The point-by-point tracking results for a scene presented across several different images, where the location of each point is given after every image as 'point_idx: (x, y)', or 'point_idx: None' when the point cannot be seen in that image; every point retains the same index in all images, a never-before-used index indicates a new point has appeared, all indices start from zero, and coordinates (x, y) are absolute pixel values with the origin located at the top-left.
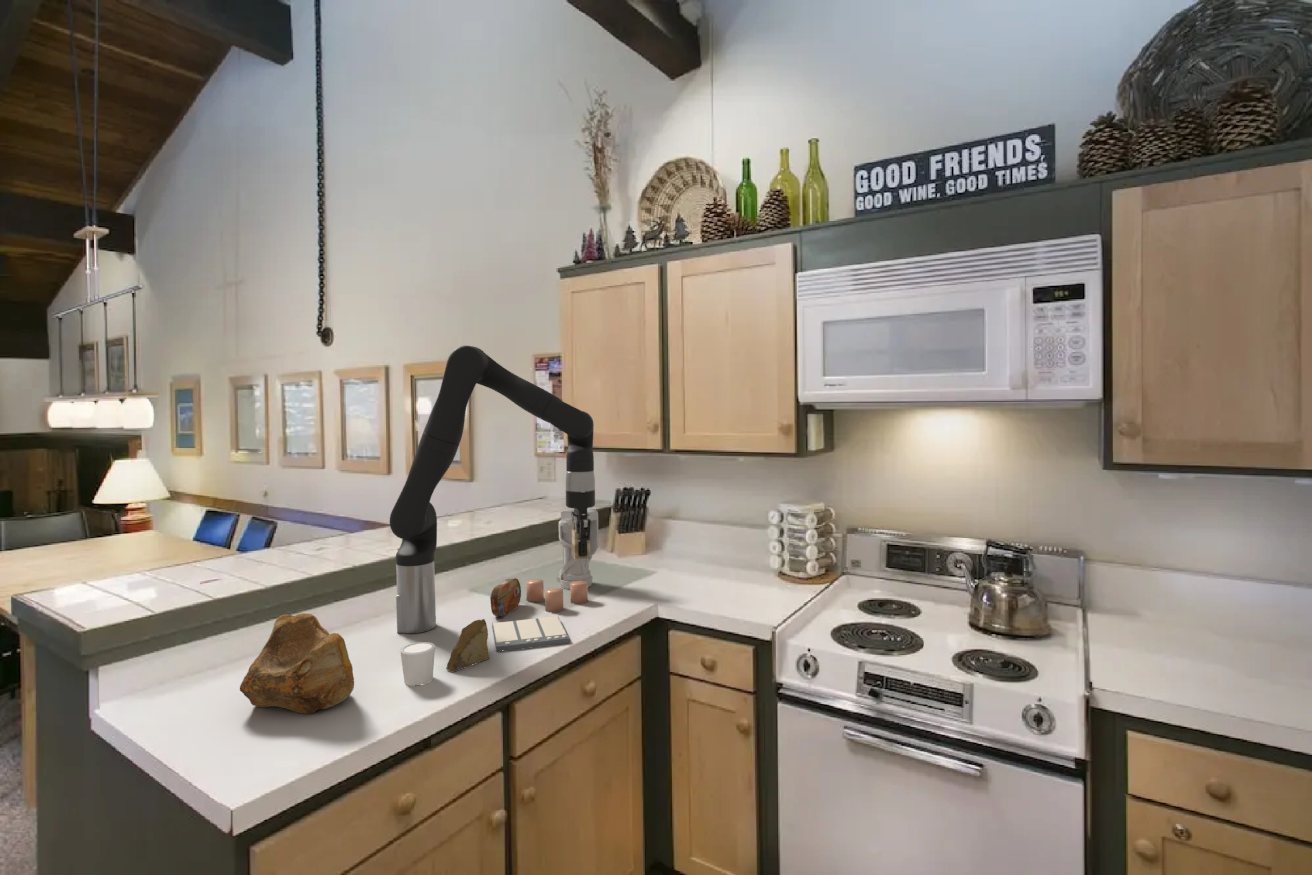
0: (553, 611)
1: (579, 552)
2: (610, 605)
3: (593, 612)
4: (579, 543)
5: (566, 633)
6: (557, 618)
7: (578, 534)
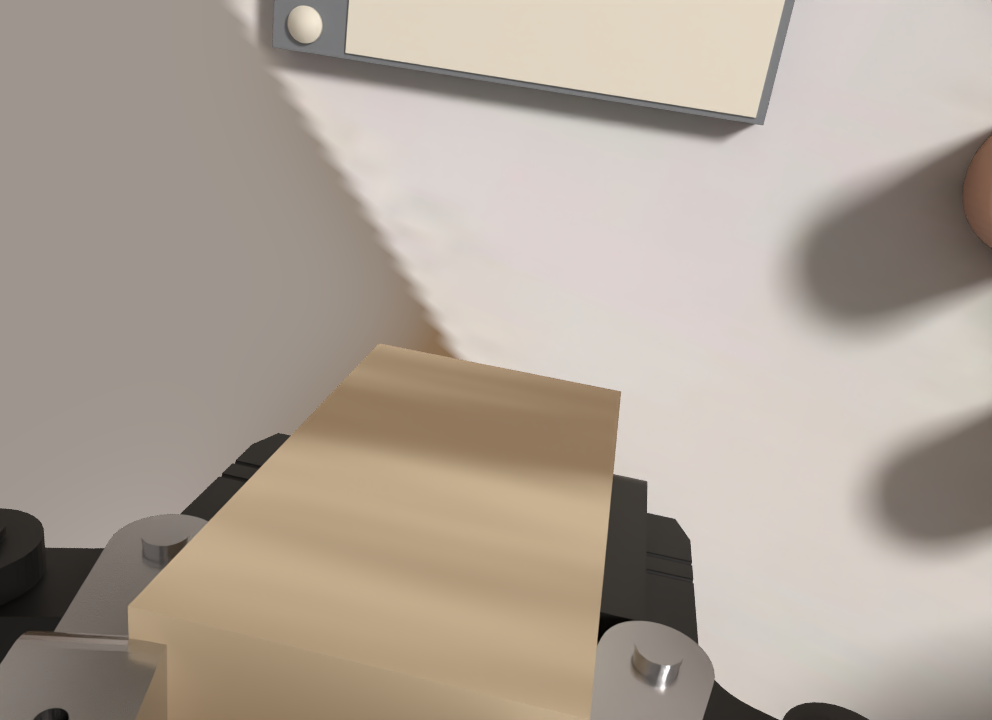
0: (979, 154)
1: None
2: (854, 570)
3: (781, 416)
4: None
5: (363, 60)
6: (702, 101)
7: (64, 619)
